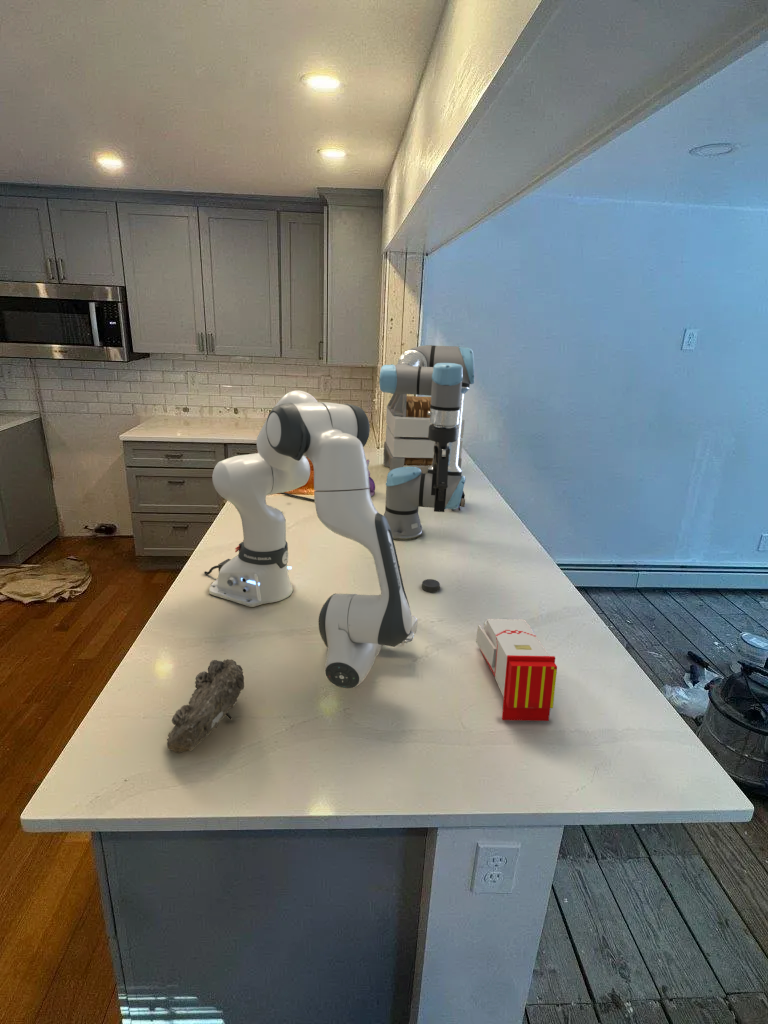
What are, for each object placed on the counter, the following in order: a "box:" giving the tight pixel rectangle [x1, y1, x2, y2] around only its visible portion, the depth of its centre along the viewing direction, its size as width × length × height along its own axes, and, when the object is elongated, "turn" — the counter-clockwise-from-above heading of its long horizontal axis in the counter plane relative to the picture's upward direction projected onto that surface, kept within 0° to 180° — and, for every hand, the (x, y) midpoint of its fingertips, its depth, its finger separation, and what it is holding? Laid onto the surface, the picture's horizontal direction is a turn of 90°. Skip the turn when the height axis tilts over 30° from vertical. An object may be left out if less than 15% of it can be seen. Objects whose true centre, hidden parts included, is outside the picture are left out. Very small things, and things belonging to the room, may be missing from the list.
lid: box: [421, 578, 441, 593], centre depth 162 cm, size 5×5×2 cm
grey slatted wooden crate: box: [383, 393, 465, 472], centre depth 268 cm, size 34×33×41 cm
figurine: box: [366, 459, 376, 497], centre depth 237 cm, size 9×10×15 cm
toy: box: [475, 618, 558, 722], centre depth 122 cm, size 12×13×30 cm
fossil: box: [166, 658, 245, 754], centre depth 106 cm, size 22×10×15 cm
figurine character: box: [451, 490, 466, 511], centre depth 229 cm, size 7×8×15 cm
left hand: (381, 606), depth 137 cm, fingers open, 8 cm apart
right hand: (437, 503), depth 153 cm, fingers open, 13 cm apart
